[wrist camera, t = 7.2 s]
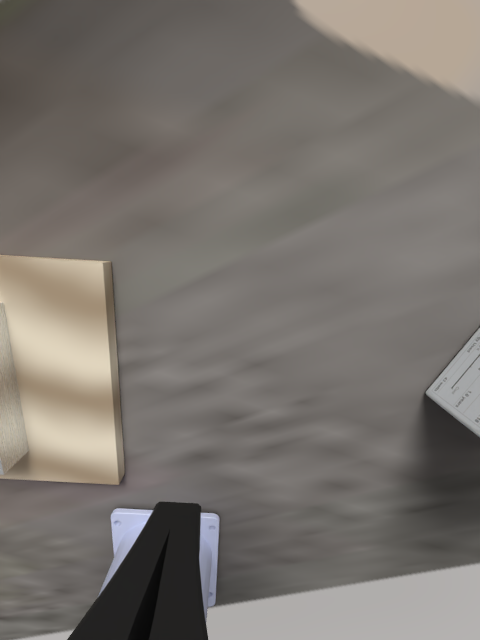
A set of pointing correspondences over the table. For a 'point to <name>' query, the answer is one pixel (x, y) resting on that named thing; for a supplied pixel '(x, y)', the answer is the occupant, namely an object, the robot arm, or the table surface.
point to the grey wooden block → (9, 404)
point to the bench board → (65, 368)
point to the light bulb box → (461, 386)
